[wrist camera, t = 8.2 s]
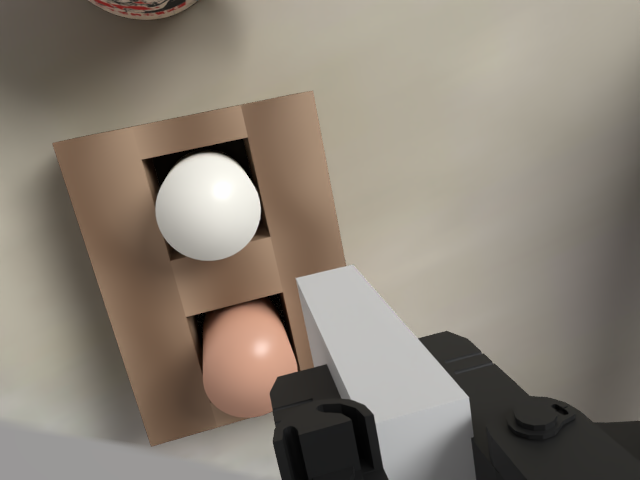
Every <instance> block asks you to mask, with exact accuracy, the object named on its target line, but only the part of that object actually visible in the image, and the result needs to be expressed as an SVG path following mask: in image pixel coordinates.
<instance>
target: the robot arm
mask: <svg viewBox="0 0 640 480" xmlns="http://www.w3.org/2000/svg"><path fill="white" fill-rule="evenodd" d="M296 282H297V287H298V292H299V297H300V302H301V306H302V311H303V316H304V321H305V326H306V330H307V335H308V340H309V345H310V350H311V355H312V359H313V364H314V367H313V368H310V369H306V370H302V371H298V372H294V373H290V374H286V375H283V376H279V377H277V379H276V381H275V383H274V385H273V387H272V389H271V391H270V399H271V404H272V410H273V416H274V421H275V427H276V428H275V430H274V437H273V445H274V449H275V454H276V458H277V462H278V466H279V470H280V474H281V479H282V480H640V421H630V422H611V423H593V422H592V421H591V420H590V419H589V418H587V417H586V416H585V415H584V414H583V413H581V412H580V411H579V410H577V409H575V408H574V407H572V406H570V405H569V404H567V403H565V402H562V401H558V400H555V399H551V398H548V397H535V396H529V395H528V394H527V393H526V392H525V391H524V390H523V389H522V388H521V387H519V386H518V385H517V384H516V383H515V382H514V381H513V380H512V379H511V378H510V377H509V376H508V375H506V374H505V373H504V372H503V371H502V370H501V369H500V368H499V367H498V366H497V365H496V364H493V363H492V361H491V360H490V359H489V358H488V357H487V356H486V355H485V354H482V353H481V351H480V350H479V349H478V348H477V347H476V346H475V345H474V344H473V343H472V342H471V341H469V340H468V339H467V338H464V337H461V336H459V335H456V334H453V333H451V332H448V331H445V332H441V333H437V334H433V335H429V336H426V337H422V338H417V337H416V336H415V335H414V334H413V332H412V331H411V330H410V329H409V328H408V327H407V326H406V324H405V323H404V322H403V321H402V320H401V319H400V318H399V316H398V315H397V314H396V313H395V312H394V311H393V310H392V308H391V307H390V306H389V305H388V304H387V303H386V301H385V300H384V299H383V298H382V297H381V296H380V295H379V293H378V292H377V291H376V290H375V289H374V288H373V287H372V285H371V284H370V283H369V282H368V281H367V280H366V279H365V277H364V276H363V275H362V274H361V273H360V272H359V270H358V269H357V268H356V267H355V266H354V265H349V266H345V267H341V268H336V269H332V270H328V271H324V272H319V273H315V274H311V275H307V276H302V277H298V278H296Z"/></svg>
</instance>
